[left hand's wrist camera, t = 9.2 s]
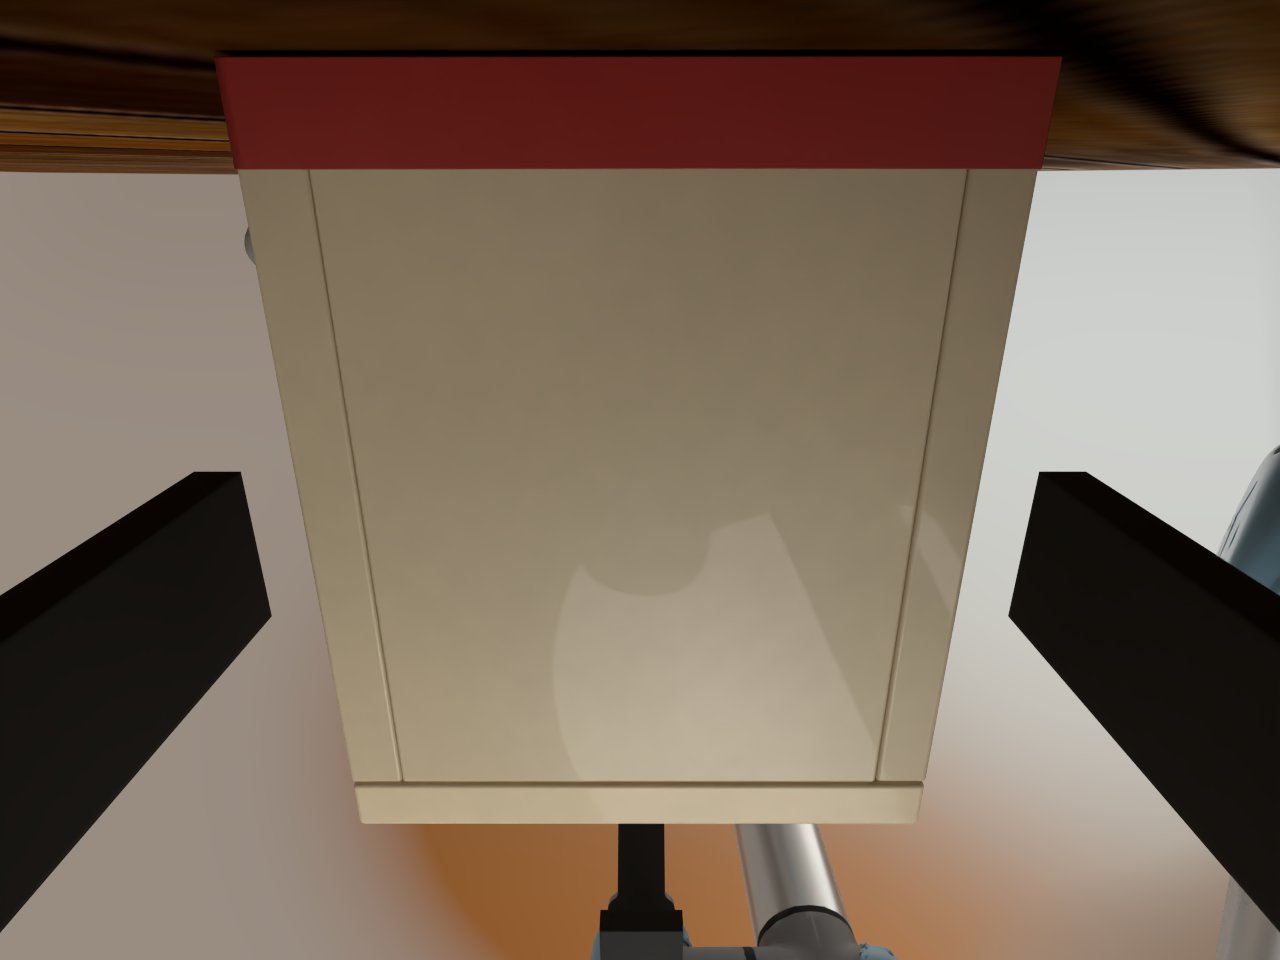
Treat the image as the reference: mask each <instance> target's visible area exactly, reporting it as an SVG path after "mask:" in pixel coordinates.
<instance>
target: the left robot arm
mask: <svg viewBox="0 0 1280 960" xmlns="http://www.w3.org/2000/svg"><path fill="white" fill-rule="evenodd" d="M271 616H272V615H271V611H270V606H269V601H268V597H267V592H266V587H265V583H264V578H263V573H262V569H261V564H260V559H259V555H258V550H257V545H256V541H255V536H254V532H253V527H252V522H251V517H250V513H249V508H248V503H247V499H246V494H245V490H244V485H243V480H242V476H241V472H193V473H191V474H190V475H188V476H187V477H185V478H184V479H182V480H180V481H179V482H177V483H176V484H174V485H173V486H171V487H169V488H168V489H166V490H165V491H163V492H162V493H160V494H159V495H157V496H155V497H154V498H152V499H151V500H149V501H148V502H146V503H144V504H143V505H141V506H140V507H138V508H137V509H135V510H133V511H132V512H130V513H129V514H127V515H126V516H124V517H122V518H121V519H119V520H118V521H116V522H115V523H113V524H112V525H110V526H109V527H107V528H105V529H104V530H102V531H101V532H99V533H97V534H96V535H94V536H93V537H91V538H90V539H88V540H86V541H85V542H83V543H82V544H80V545H79V546H77V547H76V548H74V549H72V550H71V551H69V552H68V553H66V554H65V555H63V556H62V557H60V558H58V559H57V560H55V561H54V562H52V563H50V564H49V565H47V566H46V567H44V568H43V569H41V570H40V571H38V572H36V573H35V574H33V575H32V576H30V577H29V578H27V579H25V580H24V581H22V582H21V583H19V584H18V585H16V586H14V587H13V588H11V589H10V590H8V591H7V592H5V593H4V594H2V595H0V932H1V931H2V930H3V929H4V928H5V926H6V925H7V924H8V923H9V922H10V921H11V919H12V918H13V917H14V916H15V915H16V914H17V912H18V911H19V910H20V909H21V908H22V907H23V905H24V904H25V903H26V902H27V901H28V900H29V898H30V897H31V896H32V895H33V894H34V893H35V891H36V890H37V889H38V888H39V887H40V886H41V884H42V883H43V882H44V881H45V880H46V879H47V877H48V876H49V875H50V874H51V873H52V872H53V870H54V869H55V868H56V867H57V866H58V865H59V863H60V862H61V861H62V860H63V859H64V858H65V856H66V855H67V854H68V853H69V852H70V851H71V850H72V848H73V847H74V846H75V845H76V844H77V843H78V841H79V840H80V839H81V838H82V837H83V836H84V834H85V833H86V832H87V831H88V830H89V828H90V827H91V826H92V825H93V824H94V823H95V821H96V820H97V819H98V818H99V817H100V816H101V815H102V813H103V812H104V811H105V810H106V809H107V808H108V806H109V805H110V804H111V803H112V802H113V800H114V799H115V798H116V797H117V796H118V795H119V793H120V792H121V791H122V790H123V789H124V788H125V787H126V785H127V784H128V783H129V782H130V781H131V780H132V778H133V777H134V776H135V775H136V774H137V773H138V771H139V770H140V769H141V768H142V767H143V766H144V764H145V763H146V762H147V761H148V760H149V759H150V757H151V756H152V755H153V754H154V753H155V752H156V750H157V749H158V748H159V747H160V746H161V745H162V743H163V742H164V741H165V740H166V739H167V738H168V736H169V735H170V734H171V733H172V732H173V731H174V729H175V728H176V727H177V726H178V725H179V723H180V722H181V721H182V720H183V719H184V718H185V717H186V715H187V714H188V713H189V712H190V711H191V710H192V708H193V707H194V706H195V705H196V704H197V703H198V701H199V700H200V699H201V698H202V697H203V696H204V694H205V693H206V692H207V691H208V690H209V689H210V687H211V686H212V685H213V684H214V683H215V682H216V680H217V679H218V678H219V677H220V676H221V675H222V673H223V672H224V671H225V670H226V669H227V668H228V667H229V665H230V664H231V663H232V662H233V661H234V660H235V658H236V657H237V656H238V655H239V654H240V652H241V651H242V650H243V649H244V648H245V647H246V646H247V644H248V643H249V642H250V641H251V640H252V639H253V637H254V636H255V635H256V634H257V633H258V632H259V630H260V629H261V628H262V627H263V626H264V625H265V623H266V622H267V621H268V620H269V619H270V617H271ZM1008 616H1009V618H1010V619H1011V620H1012V621H1013V622H1014V623H1015V625H1016V626H1017V627H1018V628H1019V629H1020V630H1021V632H1022V633H1023V634H1024V635H1025V636H1026V637H1027V639H1028V640H1029V641H1030V642H1031V643H1032V644H1033V646H1034V647H1035V648H1036V649H1037V650H1038V651H1039V652H1040V654H1041V655H1042V656H1043V657H1044V658H1045V660H1046V661H1047V662H1048V663H1049V664H1050V665H1051V666H1052V668H1053V669H1054V670H1055V671H1056V672H1057V673H1058V675H1059V676H1060V677H1061V678H1062V679H1063V680H1064V682H1065V683H1066V684H1067V685H1068V686H1069V687H1070V689H1071V690H1072V691H1073V692H1074V693H1075V694H1076V696H1077V697H1078V698H1079V699H1080V700H1081V701H1082V703H1083V704H1084V705H1085V706H1086V707H1087V708H1088V710H1089V711H1090V712H1091V713H1092V714H1093V715H1094V717H1095V718H1096V719H1097V720H1098V721H1099V722H1100V724H1101V725H1102V726H1103V727H1104V728H1105V729H1106V731H1107V732H1108V733H1109V734H1110V735H1111V736H1112V738H1113V739H1114V740H1115V741H1116V742H1117V743H1118V745H1119V746H1120V747H1121V748H1122V749H1123V750H1124V752H1125V753H1126V754H1127V755H1128V756H1129V757H1130V759H1131V760H1132V761H1133V762H1134V763H1135V764H1136V766H1137V767H1138V768H1139V769H1140V770H1141V771H1142V773H1143V774H1144V775H1145V776H1146V777H1147V778H1148V780H1149V781H1150V782H1151V783H1152V784H1153V785H1154V786H1155V788H1156V789H1157V790H1158V791H1159V792H1160V794H1161V795H1162V796H1163V797H1164V798H1165V799H1166V801H1167V802H1168V803H1169V804H1170V805H1171V806H1172V808H1173V809H1174V810H1175V811H1176V812H1177V813H1178V815H1179V816H1180V817H1181V818H1182V819H1183V820H1184V822H1185V823H1186V824H1187V825H1188V826H1189V827H1190V828H1191V830H1192V831H1193V832H1194V833H1195V834H1196V835H1197V837H1198V838H1199V839H1200V840H1201V841H1202V843H1203V844H1204V845H1205V846H1206V847H1207V848H1208V849H1209V851H1210V852H1211V853H1212V854H1213V855H1214V856H1215V858H1216V859H1217V860H1218V861H1219V862H1220V863H1221V865H1222V866H1223V867H1224V868H1225V869H1226V870H1227V872H1228V873H1229V874H1230V879H1229V884H1228V890H1227V895H1226V900H1225V906H1224V911H1223V917H1222V922H1221V928H1220V933H1219V938H1218V944H1217V949H1216V955H1215V960H1280V445H1279V446H1277V447H1276V448H1275V449H1273V450H1272V451H1271V452H1270V453H1269V454H1268V456H1267V457H1266V458H1265V459H1264V461H1263V462H1262V464H1261V465H1260V467H1259V468H1258V470H1257V472H1256V474H1255V475H1254V477H1253V479H1252V481H1251V482H1250V484H1249V486H1248V488H1247V490H1246V492H1245V494H1244V496H1243V498H1242V500H1241V502H1240V504H1239V506H1238V508H1237V510H1236V512H1235V514H1234V516H1233V518H1232V520H1231V522H1230V525H1229V527H1228V529H1227V531H1226V533H1225V535H1224V537H1223V540H1222V542H1221V544H1220V547H1219V549H1218V551H1217V553H1216V555H1215V554H1214V553H1212V552H1211V551H1209V550H1208V549H1206V548H1204V547H1203V546H1201V545H1200V544H1198V543H1197V542H1195V541H1194V540H1192V539H1190V538H1189V537H1187V536H1186V535H1184V534H1183V533H1181V532H1179V531H1178V530H1176V529H1175V528H1173V527H1172V526H1170V525H1168V524H1167V523H1165V522H1164V521H1162V520H1161V519H1159V518H1158V517H1156V516H1154V515H1153V514H1151V513H1150V512H1148V511H1147V510H1145V509H1143V508H1142V507H1140V506H1139V505H1137V504H1136V503H1134V502H1132V501H1131V500H1129V499H1128V498H1126V497H1125V496H1123V495H1121V494H1120V493H1118V492H1117V491H1115V490H1114V489H1112V488H1111V487H1109V486H1107V485H1106V484H1104V483H1103V482H1101V481H1100V480H1098V479H1096V478H1095V477H1093V476H1092V475H1090V474H1089V473H1087V472H1039V476H1038V480H1037V485H1036V489H1035V494H1034V499H1033V503H1032V508H1031V513H1030V518H1029V522H1028V527H1027V531H1026V536H1025V541H1024V545H1023V550H1022V555H1021V559H1020V564H1019V569H1018V573H1017V578H1016V583H1015V587H1014V592H1013V597H1012V601H1011V606H1010V611H1009V615H1008Z"/></svg>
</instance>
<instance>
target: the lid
mask: <svg viewBox="0 0 1280 960" xmlns="http://www.w3.org/2000/svg"><path fill="white" fill-rule="evenodd" d="M923 788H924V785H923V783H922V781H879V780H877V779H876V778H875V780H874V781H872V782H630V781H404V780H403V779H402V780H401V781H356V782H355V785H354V789H355V794H356V799H357V805H358V810H359V815H360V821H361V822H362V823H441V824H442V823H443V824H444V823H445V824H446V823H447V824H449V823H451V824H454V823H455V824H456V823H458V824H461V823H462V824H465V823H466V824H467V823H468V824H470V823H471V824H472V823H473V824H504V823H505V824H914V823H916V822H917V821H918V815H919V810H920V805H921V799H922V794H923Z"/></svg>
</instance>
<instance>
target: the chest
mask: <svg viewBox="0 0 1280 960" xmlns="http://www.w3.org/2000/svg"><path fill="white" fill-rule="evenodd" d="M214 62H215V67H216V72H217V78H218V83H219V88H220V93H221V99H222V104H223V109H224V115H225V120H226V125H227V131H228V136H229V141H230V146H231V152H232V157H233V162H234V168H235V169H236V170H238V173H239V178H240V184H241V189H242V194H243V199H244V205H245V210H246V216H247V221H248V226H249V232H250V237H251V242H252V248H253V253H254V258H255V264H256V269H257V274H258V279H259V285H260V290H261V296H262V301H263V306H264V312H265V317H266V322H267V328H268V333H269V338H270V344H271V349H272V354H273V360H274V365H275V370H276V376H277V381H278V386H279V392H280V397H281V402H282V408H283V413H284V418H285V424H286V429H287V434H288V440H289V445H290V450H291V456H292V461H293V466H294V472H295V477H296V482H297V488H298V493H299V498H300V504H301V509H302V515H303V520H304V525H305V531H306V536H307V541H308V547H309V552H310V557H311V563H312V568H313V573H314V578H315V584H316V589H317V595H318V600H319V605H320V611H321V616H322V621H323V627H324V632H325V637H326V643H327V648H328V653H329V658H330V664H331V669H332V675H333V680H334V685H335V690H336V696H337V701H338V707H339V712H340V717H341V723H342V728H343V733H344V739H345V744H346V749H347V754H348V760H349V765H350V771H351V776H352V780H353V781H401V780H402V779H403V780H404V781H630V782H872V781H874V780H875V778H876V779H877V780H879V781H923V780H924V779H925V778H926V772H927V766H928V761H929V756H930V751H931V745H932V739H933V734H934V729H935V723H936V718H937V713H938V707H939V702H940V696H941V691H942V685H943V680H944V675H945V669H946V664H947V658H948V653H949V648H950V642H951V637H952V631H953V626H954V620H955V615H956V609H957V604H958V599H959V593H960V588H961V582H962V577H963V571H964V566H965V561H966V555H967V550H968V544H969V539H970V534H971V528H972V523H973V517H974V512H975V507H976V501H977V496H978V490H979V485H980V479H981V474H982V468H983V463H984V458H985V452H986V447H987V441H988V436H989V431H990V425H991V420H992V414H993V409H994V403H995V398H996V392H997V387H998V382H999V376H1000V371H1001V366H1002V360H1003V355H1004V349H1005V344H1006V338H1007V333H1008V327H1009V322H1010V317H1011V311H1012V306H1013V300H1014V295H1015V290H1016V284H1017V279H1018V273H1019V268H1020V262H1021V257H1022V252H1023V246H1024V241H1025V235H1026V230H1027V224H1028V219H1029V214H1030V208H1031V203H1032V197H1033V192H1034V187H1035V181H1036V176H1037V170H1038V169H1042V164H1043V159H1044V153H1045V148H1046V143H1047V137H1048V132H1049V127H1050V121H1051V116H1052V110H1053V105H1054V100H1055V94H1056V89H1057V84H1058V78H1059V73H1060V67H1061V62H1062V56H256V57H214Z"/></svg>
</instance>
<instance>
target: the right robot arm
mask: <svg viewBox="0 0 1280 960" xmlns="http://www.w3.org/2000/svg"><path fill="white" fill-rule="evenodd" d="M734 828H735V834H736V840H737V845H738V851H739V856H740V862H741V867H742V872H743V878H744V884H745V889H746V895H747V900H748V906H749V911H750V917H751V923H752V928H753V933H754V939H755V944H756V947H692V945H691V943H690V942H689V937H688V934H687V931H686V929H685V927H684V926H683V917H682V910H675V908H674V903H673V899H672V898H671V896H670V895H668V894H667V893H666V892H665V869H664V868H665V867H664V824H619V825H618V891H617V893H616V894H614V895H613V896H612V897H611V899H610V901H609V906H608V910H601V913H600V930H599V931H598V933H597V935H596V937H595V939H594V943H593V948H592V954H591V960H897V958H896V957H894V955H893V953H892V952H891V951H890V950H888V949H887V948H886V947H882V946H874V945H867V943H864V944H861V945H858V944H857V942H856V940H855V938H854V935H853V932H852V929H851V926H850V923H849V920H848V917H847V914H846V910H845V907H844V904H843V901H842V898H841V895H840V892H839V889H838V886H837V883H836V880H835V877H834V874H833V871H832V868H831V865H830V862H829V858H828V856H827V852H826V849H825V846H824V843H823V840H822V837H821V834H820V831H819V828H818V825H817V824H734Z"/></svg>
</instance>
